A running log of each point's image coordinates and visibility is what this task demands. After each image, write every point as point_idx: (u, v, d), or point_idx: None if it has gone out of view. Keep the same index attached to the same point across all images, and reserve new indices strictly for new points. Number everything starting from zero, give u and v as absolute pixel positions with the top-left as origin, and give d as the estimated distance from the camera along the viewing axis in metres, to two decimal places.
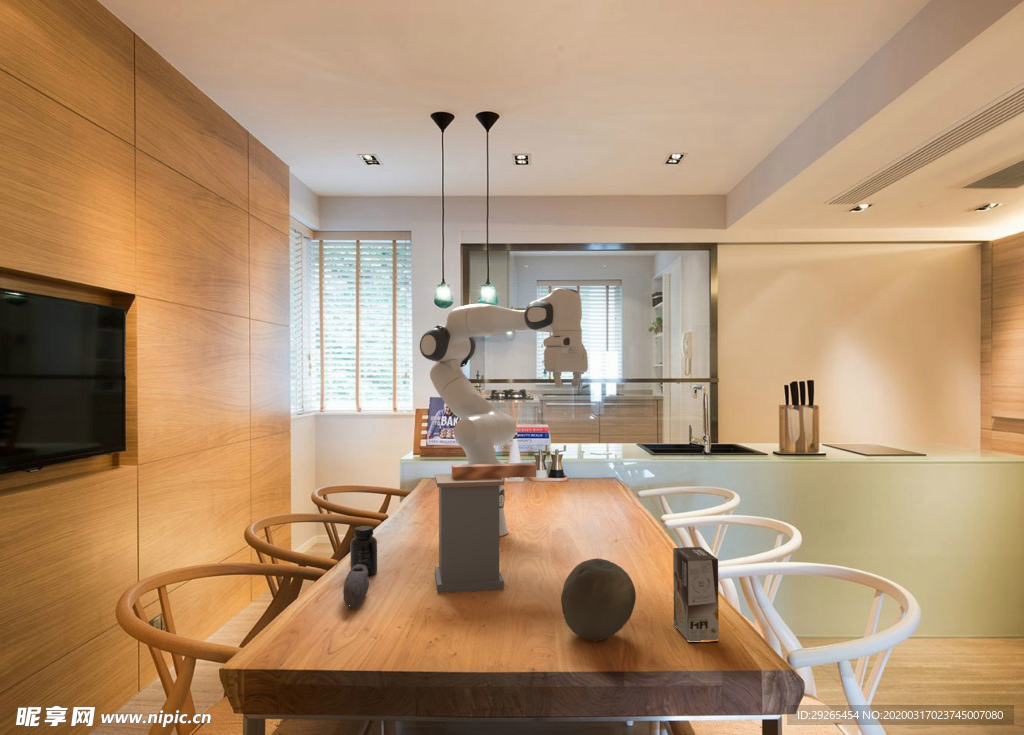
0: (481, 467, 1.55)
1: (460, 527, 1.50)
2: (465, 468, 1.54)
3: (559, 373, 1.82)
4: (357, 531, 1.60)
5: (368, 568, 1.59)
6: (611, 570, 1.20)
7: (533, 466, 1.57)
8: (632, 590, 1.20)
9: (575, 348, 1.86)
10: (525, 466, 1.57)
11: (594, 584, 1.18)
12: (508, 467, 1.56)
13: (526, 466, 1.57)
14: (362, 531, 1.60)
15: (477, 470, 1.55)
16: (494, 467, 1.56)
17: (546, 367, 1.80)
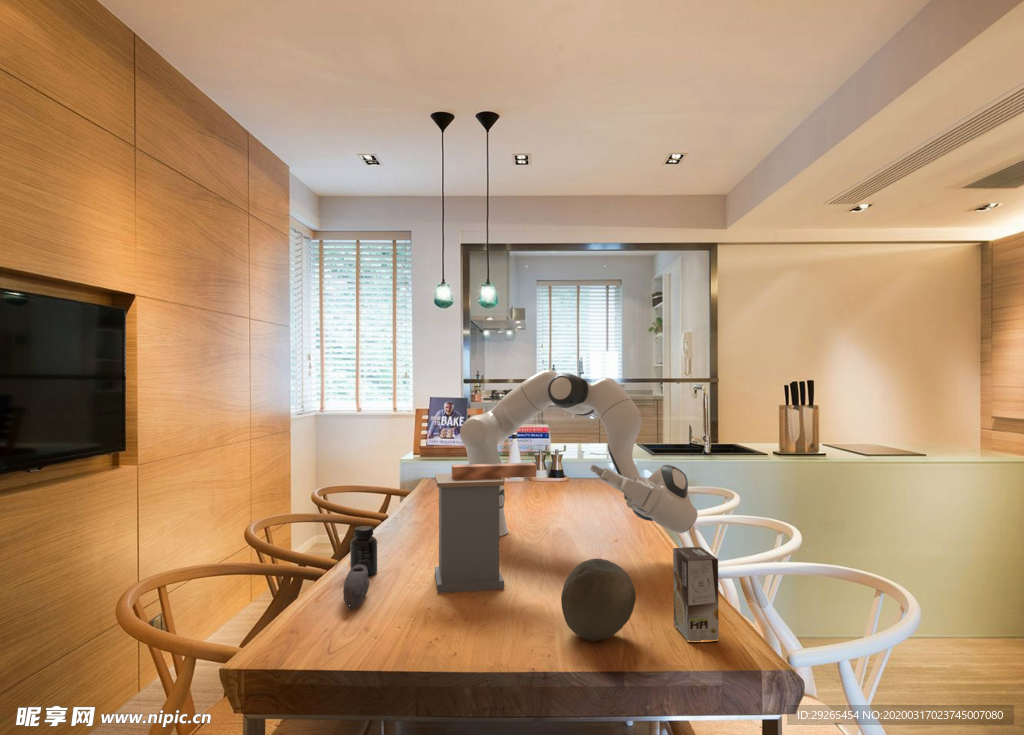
0: (481, 467, 1.55)
1: (460, 527, 1.50)
2: (465, 468, 1.54)
3: (616, 484, 1.57)
4: (357, 531, 1.60)
5: (368, 568, 1.59)
6: (611, 570, 1.20)
7: (533, 466, 1.57)
8: (632, 590, 1.20)
9: (629, 501, 1.63)
10: (525, 466, 1.57)
11: (594, 584, 1.18)
12: (508, 467, 1.56)
13: (526, 466, 1.57)
14: (362, 531, 1.60)
15: (477, 470, 1.55)
16: (494, 467, 1.56)
17: (631, 483, 1.53)
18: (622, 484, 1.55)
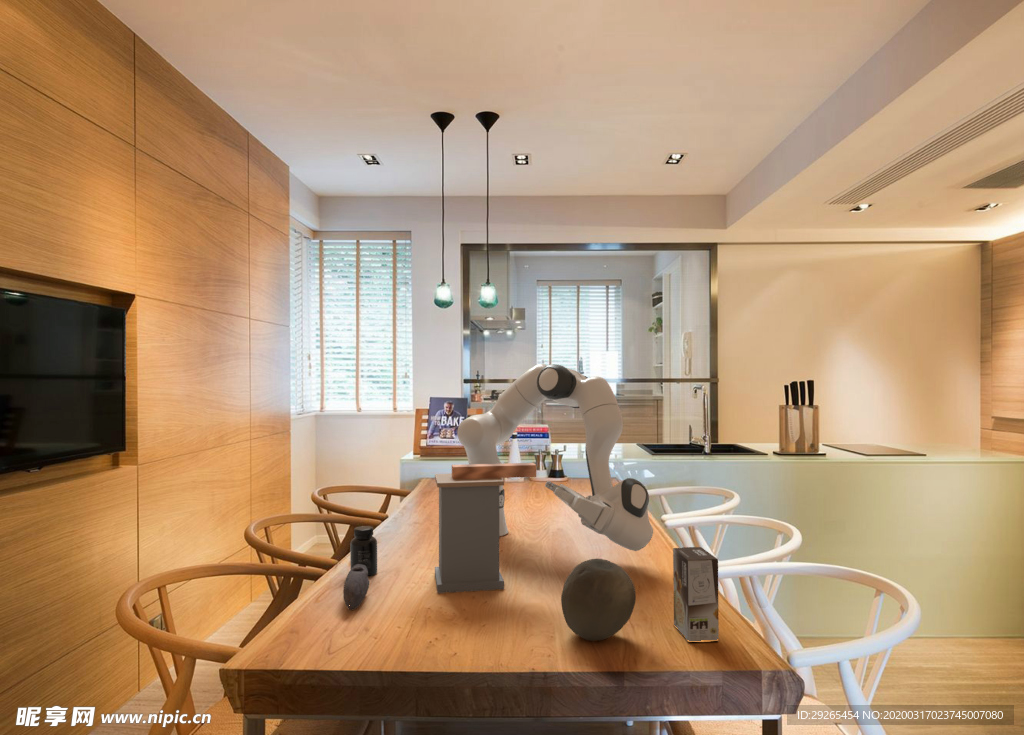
0: (481, 467, 1.55)
1: (460, 527, 1.50)
2: (465, 468, 1.54)
3: (568, 502, 1.55)
4: (357, 531, 1.60)
5: (368, 568, 1.59)
6: (611, 570, 1.20)
7: (533, 466, 1.57)
8: (632, 590, 1.20)
9: (582, 518, 1.61)
10: (525, 466, 1.57)
11: (594, 584, 1.18)
12: (508, 467, 1.56)
13: (526, 466, 1.57)
14: (362, 531, 1.60)
15: (477, 470, 1.55)
16: (494, 467, 1.56)
17: (582, 502, 1.51)
18: (573, 502, 1.53)
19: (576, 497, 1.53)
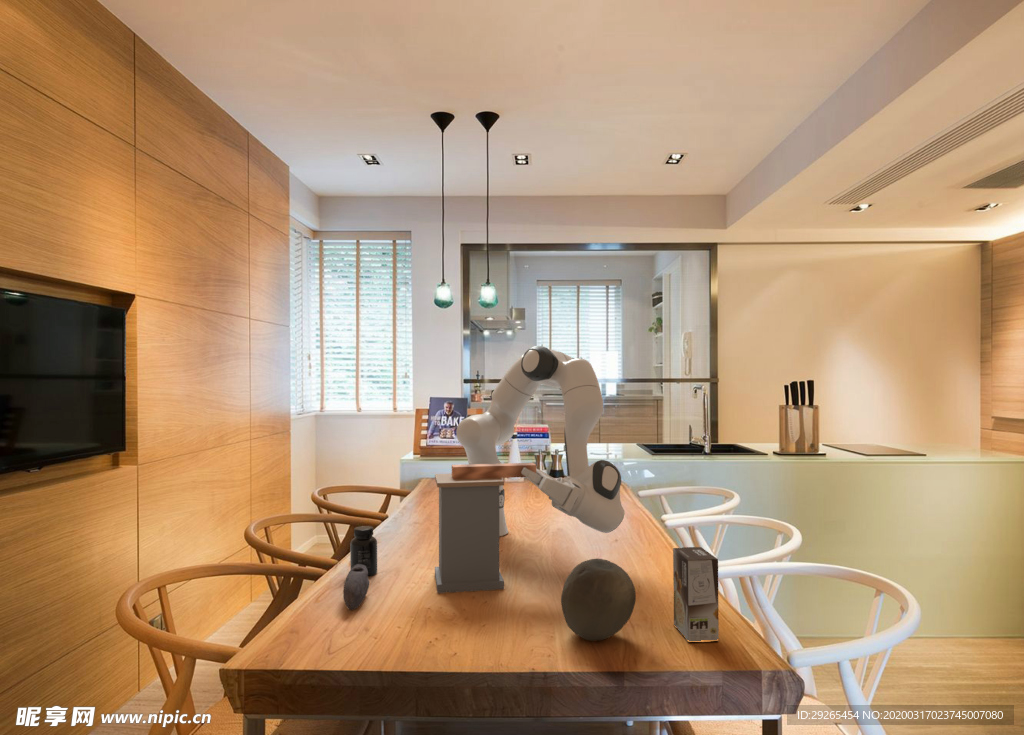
0: (481, 467, 1.55)
1: (460, 527, 1.50)
2: (465, 468, 1.54)
3: (535, 482, 1.55)
4: (357, 531, 1.60)
5: (368, 568, 1.59)
6: (611, 570, 1.20)
7: (533, 466, 1.57)
8: (632, 590, 1.20)
9: (553, 500, 1.60)
10: (525, 466, 1.57)
11: (594, 584, 1.18)
12: (508, 467, 1.56)
13: (526, 466, 1.57)
14: (362, 531, 1.60)
15: (477, 470, 1.55)
16: (494, 467, 1.56)
17: (550, 482, 1.50)
18: (542, 483, 1.51)
19: (544, 478, 1.52)
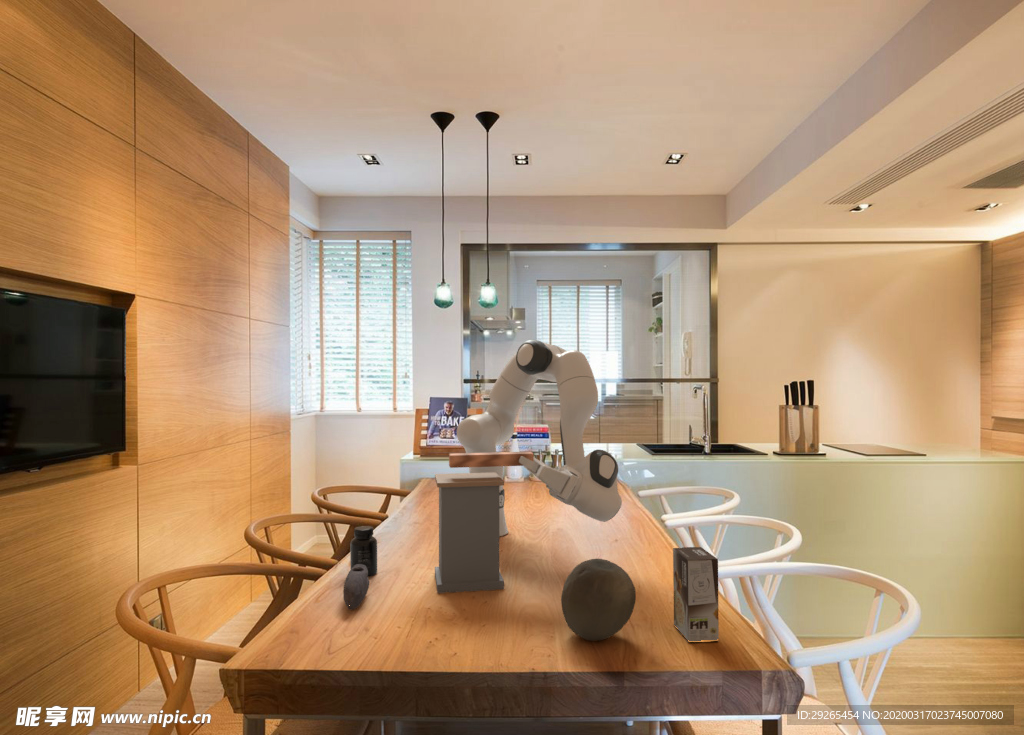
0: (478, 455, 1.55)
1: (460, 527, 1.50)
2: (462, 456, 1.54)
3: (532, 470, 1.55)
4: (357, 531, 1.60)
5: (368, 568, 1.59)
6: (611, 570, 1.20)
7: (530, 455, 1.57)
8: (632, 590, 1.20)
9: (550, 489, 1.60)
10: (522, 455, 1.57)
11: (594, 584, 1.18)
12: (505, 455, 1.56)
13: (523, 455, 1.57)
14: (362, 531, 1.60)
15: (474, 458, 1.55)
16: (491, 455, 1.56)
17: (547, 470, 1.50)
18: (539, 471, 1.51)
19: (542, 466, 1.52)
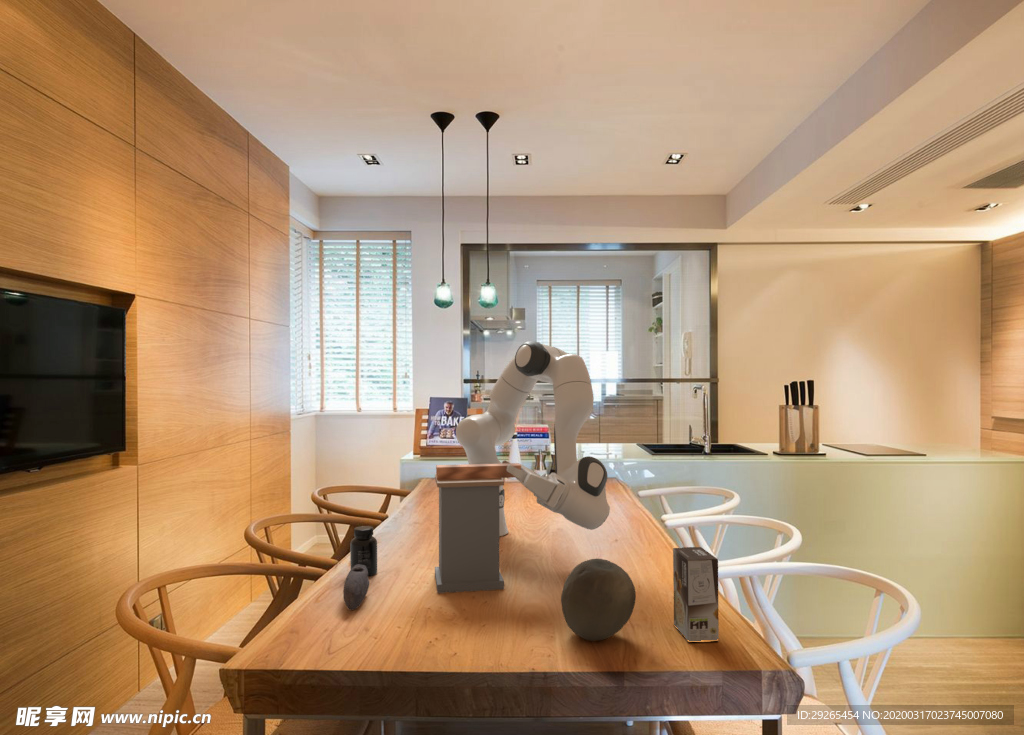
0: (465, 467, 1.54)
1: (460, 527, 1.50)
2: (449, 468, 1.54)
3: (520, 479, 1.53)
4: (357, 531, 1.60)
5: (368, 568, 1.59)
6: (611, 570, 1.20)
7: (518, 466, 1.57)
8: (632, 590, 1.20)
9: (537, 497, 1.59)
10: None
11: (594, 584, 1.18)
12: (493, 467, 1.56)
13: None
14: (362, 531, 1.60)
15: (461, 470, 1.54)
16: (478, 467, 1.55)
17: (534, 478, 1.49)
18: (526, 479, 1.51)
19: (528, 474, 1.51)
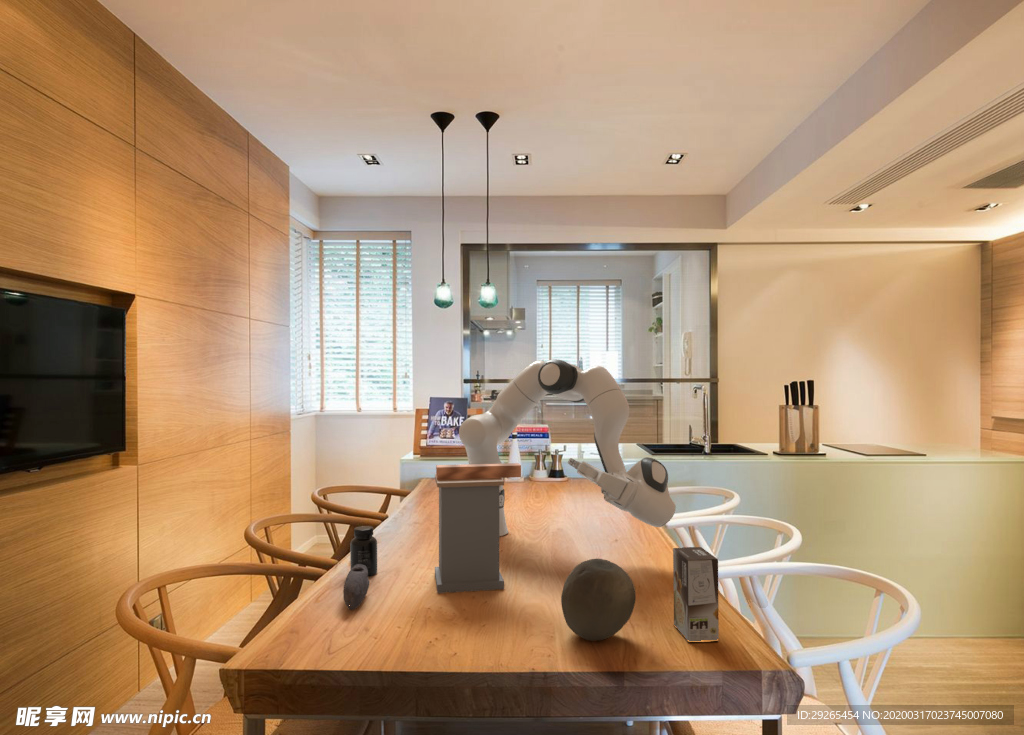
0: (465, 467, 1.54)
1: (460, 527, 1.50)
2: (449, 468, 1.54)
3: (592, 478, 1.55)
4: (357, 531, 1.60)
5: (368, 568, 1.59)
6: (611, 570, 1.20)
7: (518, 466, 1.57)
8: (632, 590, 1.20)
9: (606, 495, 1.62)
10: (510, 466, 1.56)
11: (594, 584, 1.18)
12: (493, 467, 1.56)
13: (511, 466, 1.56)
14: (362, 531, 1.60)
15: (461, 470, 1.54)
16: (478, 467, 1.55)
17: (606, 476, 1.52)
18: (597, 477, 1.54)
19: (600, 472, 1.54)
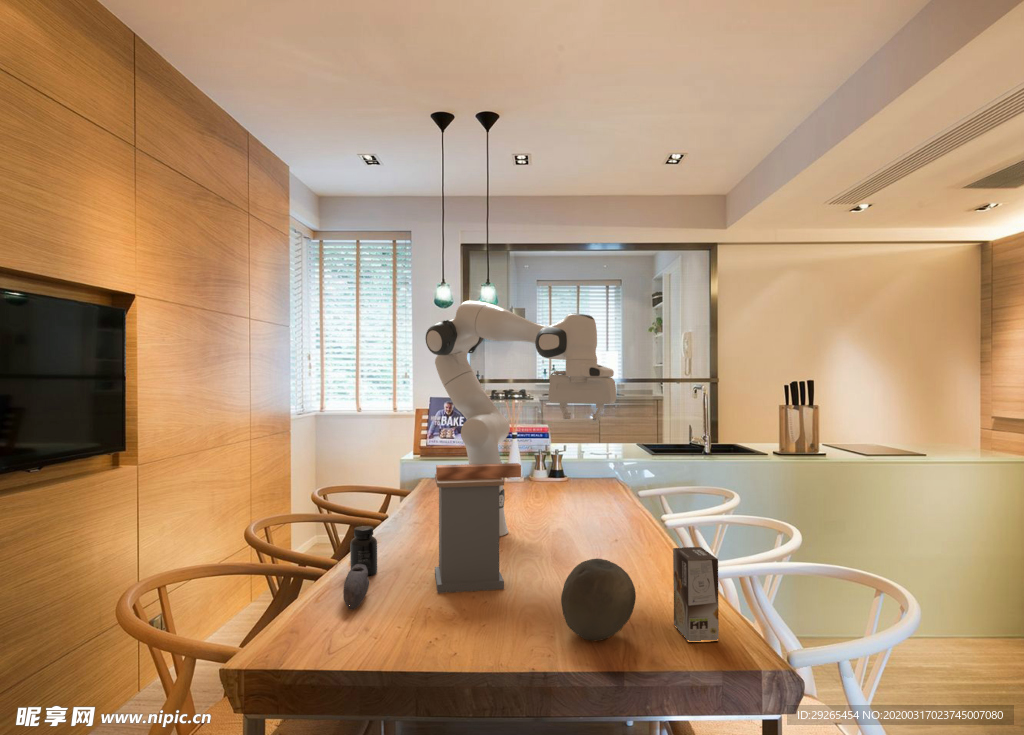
0: (465, 467, 1.54)
1: (460, 527, 1.50)
2: (449, 468, 1.54)
3: None
4: (357, 531, 1.60)
5: (368, 568, 1.59)
6: (611, 570, 1.20)
7: (518, 466, 1.57)
8: (632, 590, 1.20)
9: None
10: (510, 466, 1.56)
11: (594, 584, 1.18)
12: (493, 467, 1.56)
13: (511, 466, 1.56)
14: (362, 531, 1.60)
15: (461, 470, 1.54)
16: (478, 467, 1.55)
17: (612, 399, 1.69)
18: None
19: None
